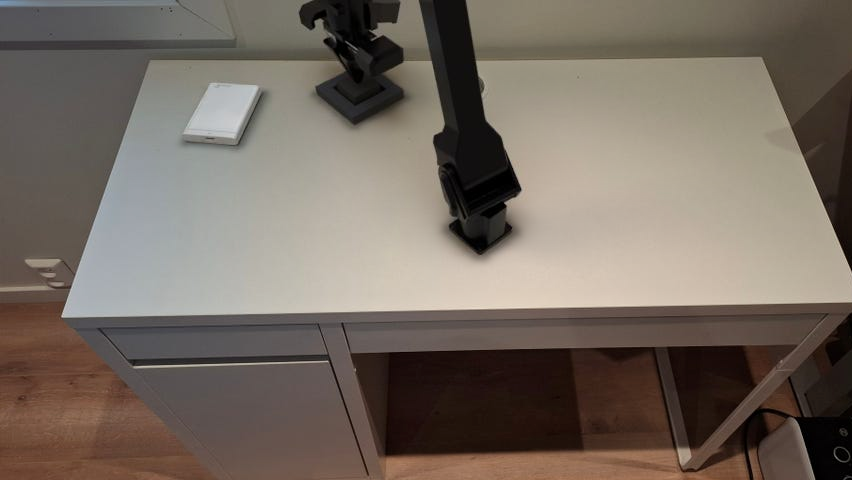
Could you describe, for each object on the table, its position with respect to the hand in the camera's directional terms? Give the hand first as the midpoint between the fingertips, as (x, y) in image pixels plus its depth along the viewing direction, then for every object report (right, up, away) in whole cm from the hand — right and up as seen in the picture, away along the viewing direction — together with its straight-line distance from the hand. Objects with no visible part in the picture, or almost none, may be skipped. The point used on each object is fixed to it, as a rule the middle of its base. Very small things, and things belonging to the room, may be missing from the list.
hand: (358, 81), depth 97 cm
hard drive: (-21, -6, -1) cm, 22 cm away
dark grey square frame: (0, -2, +2) cm, 3 cm away
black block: (0, -2, +2) cm, 3 cm away
